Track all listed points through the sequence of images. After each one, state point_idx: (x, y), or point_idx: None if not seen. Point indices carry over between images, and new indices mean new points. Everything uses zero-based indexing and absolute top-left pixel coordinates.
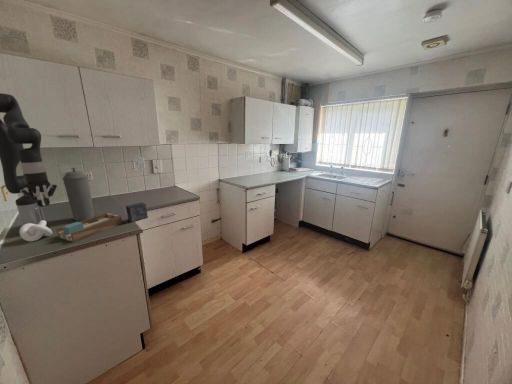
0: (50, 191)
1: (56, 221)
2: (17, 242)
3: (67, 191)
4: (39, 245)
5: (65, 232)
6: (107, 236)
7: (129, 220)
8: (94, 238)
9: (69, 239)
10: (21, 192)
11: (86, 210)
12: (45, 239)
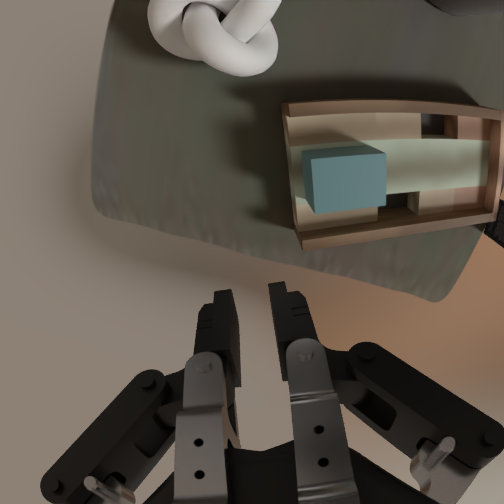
0: (402, 393)
1: None
2: None
3: None
4: (196, 133)
5: (303, 167)
6: (377, 282)
7: None
8: (349, 261)
9: (292, 203)
10: (63, 475)
11: (479, 8)
12: None
